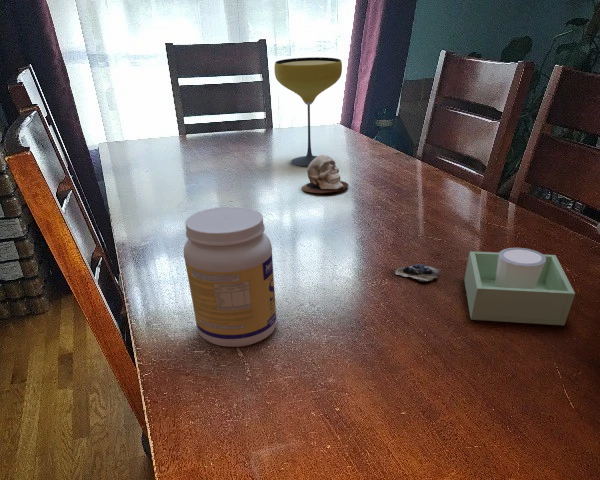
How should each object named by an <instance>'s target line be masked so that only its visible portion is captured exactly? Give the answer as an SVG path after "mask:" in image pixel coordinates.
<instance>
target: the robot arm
mask: <svg viewBox="0 0 600 480" xmlns="http://www.w3.org/2000/svg"><path fill="white" fill-rule="evenodd" d="M595 230H596V231H597V233H598V234H599V235H600V221H599V222H598V224H597V226H596V229H595Z"/></svg>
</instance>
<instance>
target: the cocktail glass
mask: <svg viewBox="0 0 600 480" xmlns="http://www.w3.org/2000/svg"><path fill="white" fill-rule="evenodd" d="M273 69H274V77H275V79H276V81H277V82H278V83H279V84H280V85H282V87H284V88H286V89H287V90H289V91H291V92H293V93H294V94H296V95H298V96H299V98H301V100H302V102H303V103H304V104H305V105H307V152H306V155H302V156H298V157H295V158H292V159H291V160H290V161H291V164H292V165H295V166H297V167H303V168H304V167H305V168H308V166H309V164H310V163H311V162H312V161H313V160H314V159H315V158H316V157H318V156H319V155H313V152H312V142H311V141H312V140H311V105H313V103H314V102H315V100H316V98H317V97H318V96H319V95H320V94H321V93H323V92H324V91H326V90H328V89H329V88H331V87H333V86H334V85H335V84H336V83H337V82H338V81H339V80H340V78H341V76H342V73H343V72H342V71H343V62H342V59H340V58H335V57H322V56H321V57H319V56H317V57H314V56H310V57H293V58H286V59H279V60H276V61H275V62H274V67H273Z"/></svg>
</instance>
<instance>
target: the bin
mask: <svg viewBox="0 0 600 480" xmlns="http://www.w3.org/2000/svg"><path fill="white" fill-rule="evenodd" d="M543 255H544V256H545V257H546V262H545V265H544V267H543V270H542V272H541V275H540V277H539V280H538V282H537V284H536V287H535V289H522V288H503V287H495V280H496V272H497V265H498V257H499V252H494V251H492V252H491V251H469V254H468V259H467V263H466V269H465V275H464V288H465V293H466V294H465V295H466V300H467V306H468V311H469V312H468V313H469V318H470V320H472V321H488V322H500V323H501V322H504V323H519V324H532V325H533V324H535V325H549V326H550V325H552V326H565V324H566V322H567V318H568V316H569V313H570V311H571V308H572V305H573V302H574V299H575V296H576V292H575V290H574V288H573V286H572V285H571V284H572V283H571V282H570V280H569V279H568V277H567V275H566V273H565V270H564V269H563V267H562V265H561V263H560V261H559V259H558V257H557V255H556V254H543Z"/></svg>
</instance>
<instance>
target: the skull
mask: <svg viewBox="0 0 600 480" xmlns="http://www.w3.org/2000/svg"><path fill="white" fill-rule="evenodd" d="M317 156H318V157H316V158H315V159H314V160H313V161H312V162H311V163H310V164H309V166H308V167H307V169H306V173H307V177H308V181H309V182H307V183H306V184H304V185H302V186H301V190H302V191H303V192H307V193H315V194H323V193H324V194H326V193H333V192H338V191H344V190H346V189H348V187H349V183H347V182H346V181H343V180H341V175H340V174H339V172H340V169H339V167H338V166H337V165H336V160H334V159H333V158H332V157H330V155H326V154H320V155H317Z"/></svg>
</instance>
